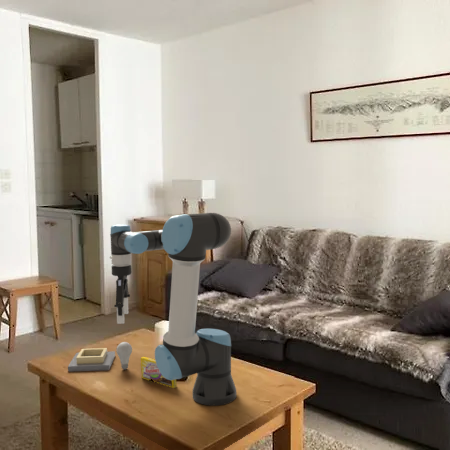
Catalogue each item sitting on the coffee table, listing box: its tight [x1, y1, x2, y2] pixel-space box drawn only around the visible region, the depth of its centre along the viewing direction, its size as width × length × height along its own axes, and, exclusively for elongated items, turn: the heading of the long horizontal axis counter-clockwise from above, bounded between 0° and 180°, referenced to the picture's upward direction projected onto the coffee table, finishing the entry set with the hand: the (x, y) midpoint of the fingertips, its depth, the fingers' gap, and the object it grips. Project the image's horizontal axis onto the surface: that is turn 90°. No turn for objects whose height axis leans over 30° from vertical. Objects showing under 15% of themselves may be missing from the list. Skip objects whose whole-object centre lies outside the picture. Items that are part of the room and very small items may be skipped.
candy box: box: [140, 356, 178, 389], centre depth 193 cm, size 16×2×8 cm, turn 54°
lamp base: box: [67, 347, 116, 372], centre depth 213 cm, size 16×16×4 cm
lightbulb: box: [115, 341, 133, 371], centre depth 206 cm, size 6×6×11 cm
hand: (123, 318), depth 204 cm, fingers open, 13 cm apart
